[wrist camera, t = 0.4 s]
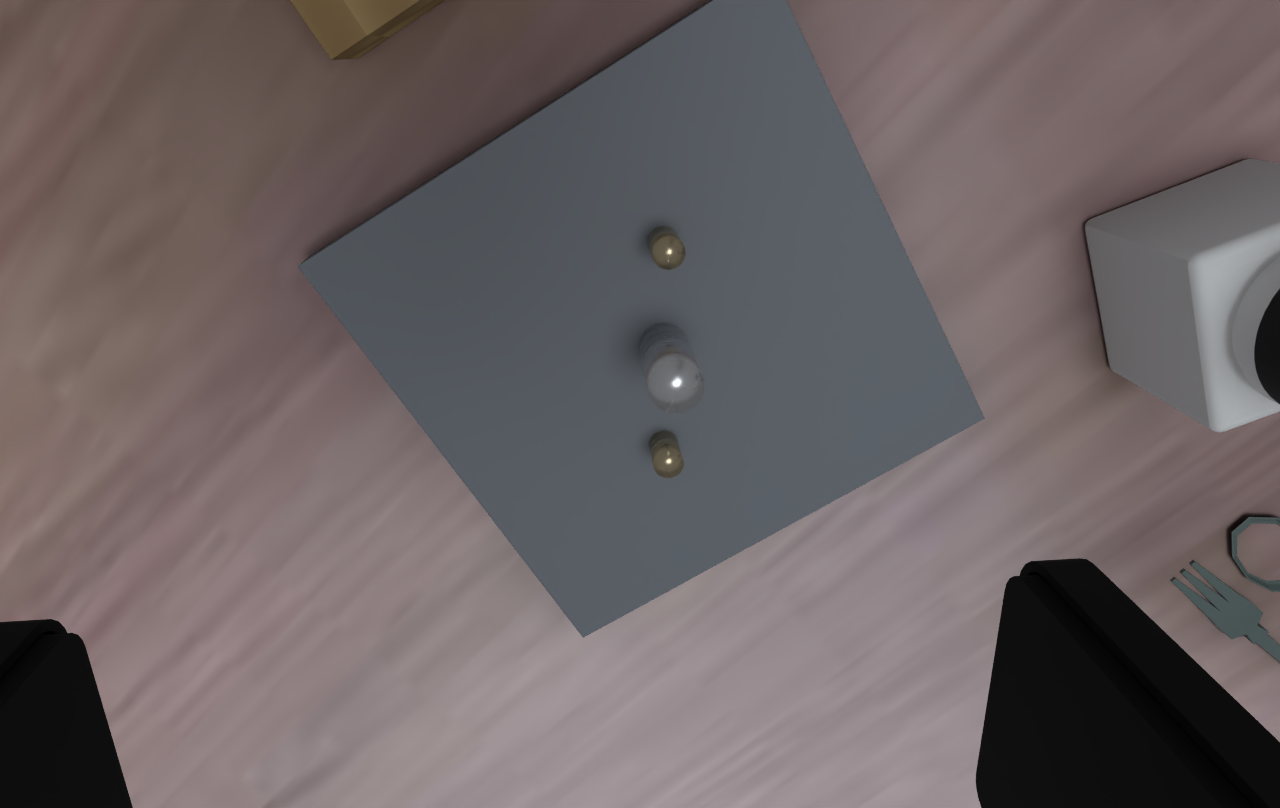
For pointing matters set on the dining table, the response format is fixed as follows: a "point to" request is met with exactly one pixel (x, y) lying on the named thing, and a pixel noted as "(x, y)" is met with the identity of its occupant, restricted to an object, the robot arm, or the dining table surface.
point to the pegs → (669, 363)
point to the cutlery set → (1233, 598)
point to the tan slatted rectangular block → (358, 22)
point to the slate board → (655, 312)
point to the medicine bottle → (1196, 293)
